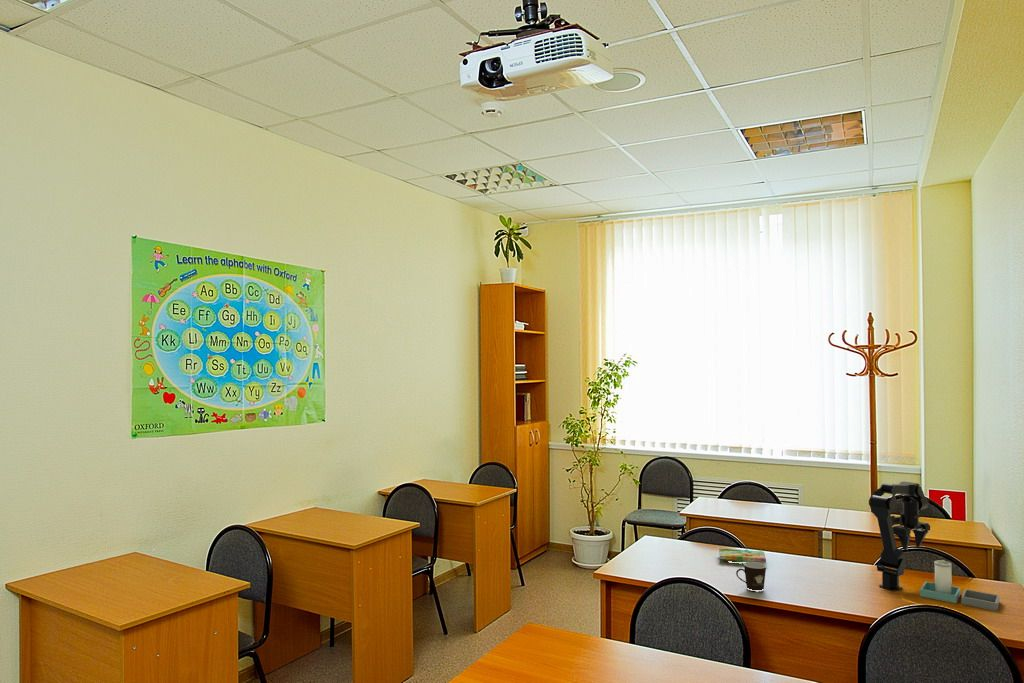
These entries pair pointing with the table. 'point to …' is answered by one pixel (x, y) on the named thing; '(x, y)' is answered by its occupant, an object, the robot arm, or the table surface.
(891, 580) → the robot arm
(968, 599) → the bin
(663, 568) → the table surface
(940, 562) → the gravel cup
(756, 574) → the coffee mug
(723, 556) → the puzzle game
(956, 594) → the bin
